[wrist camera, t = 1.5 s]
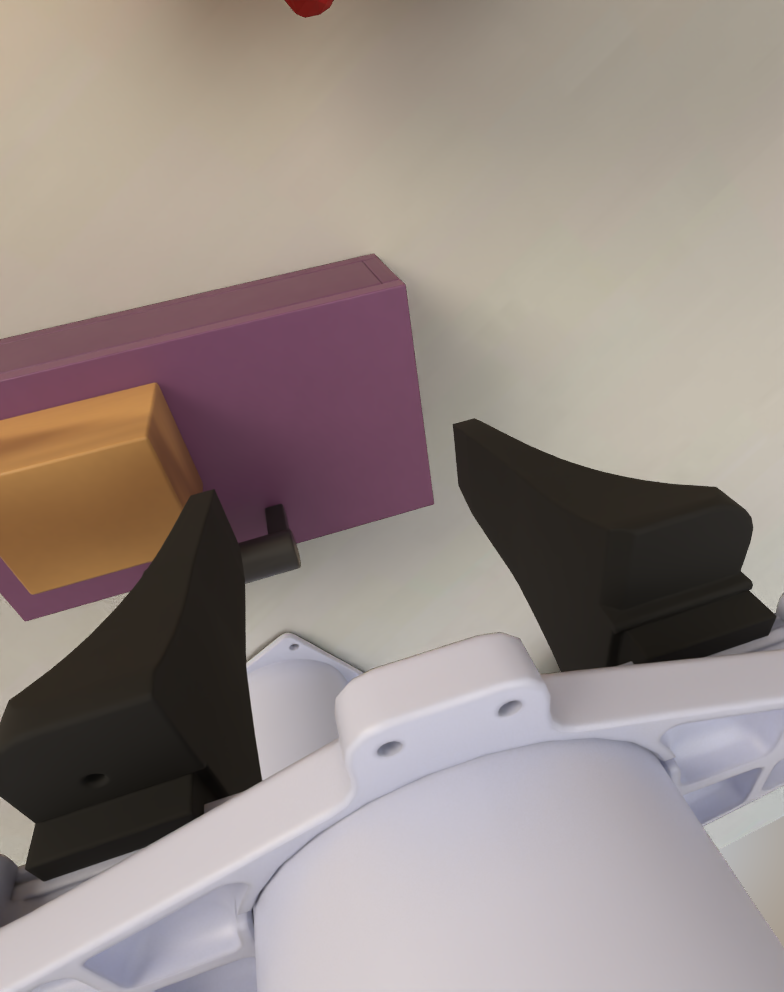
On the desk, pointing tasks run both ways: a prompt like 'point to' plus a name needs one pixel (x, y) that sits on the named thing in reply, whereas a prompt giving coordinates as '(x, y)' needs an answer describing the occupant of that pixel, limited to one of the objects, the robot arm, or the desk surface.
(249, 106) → the desk surface
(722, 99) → the desk surface
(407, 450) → the lid
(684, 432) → the desk surface
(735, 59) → the desk surface
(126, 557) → the block
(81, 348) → the box
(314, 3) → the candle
